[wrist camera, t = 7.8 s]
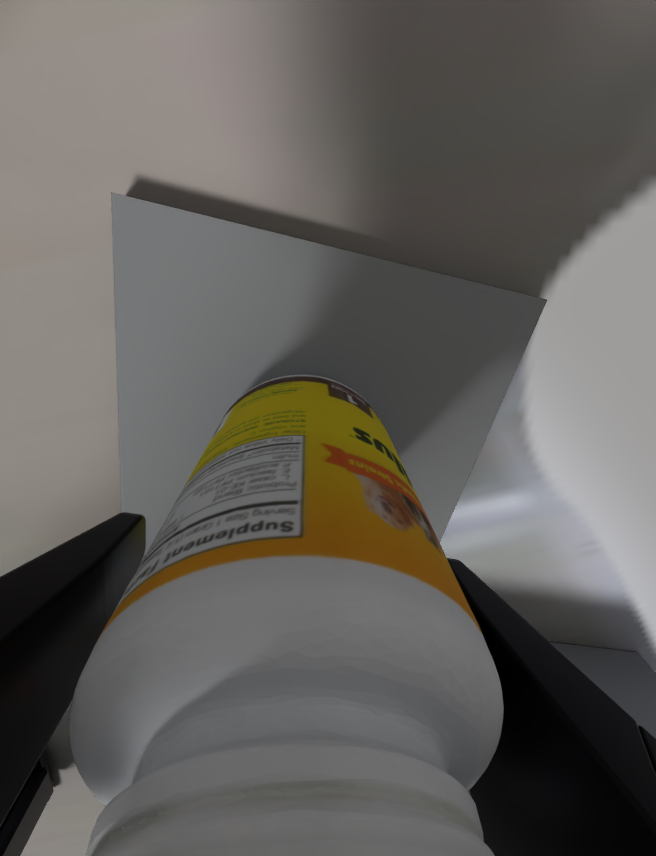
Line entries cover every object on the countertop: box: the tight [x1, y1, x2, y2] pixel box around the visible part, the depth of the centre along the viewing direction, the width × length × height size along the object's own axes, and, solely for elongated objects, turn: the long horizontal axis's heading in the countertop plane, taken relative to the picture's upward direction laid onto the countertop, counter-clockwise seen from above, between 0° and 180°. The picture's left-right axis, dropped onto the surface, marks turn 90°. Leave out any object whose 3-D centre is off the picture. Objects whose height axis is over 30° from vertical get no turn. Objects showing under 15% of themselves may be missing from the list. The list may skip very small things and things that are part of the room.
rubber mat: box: [111, 192, 547, 557], centre depth 12 cm, size 12×12×1 cm
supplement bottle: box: [69, 375, 504, 856], centre depth 7 cm, size 6×6×10 cm
